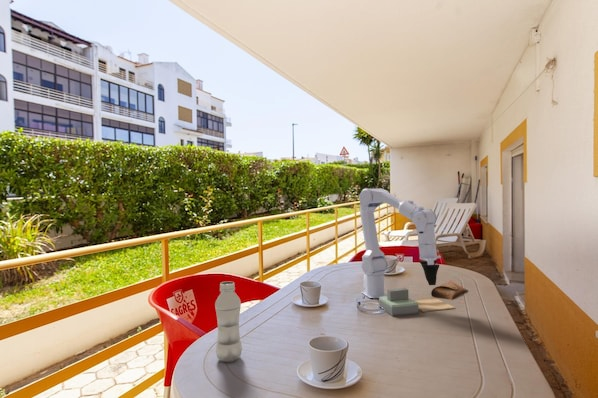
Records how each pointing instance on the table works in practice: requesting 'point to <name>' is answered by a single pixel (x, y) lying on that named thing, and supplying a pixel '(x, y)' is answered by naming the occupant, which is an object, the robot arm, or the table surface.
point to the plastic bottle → (228, 323)
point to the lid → (398, 298)
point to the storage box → (399, 309)
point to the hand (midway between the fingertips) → (431, 282)
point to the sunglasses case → (448, 291)
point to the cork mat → (432, 304)
